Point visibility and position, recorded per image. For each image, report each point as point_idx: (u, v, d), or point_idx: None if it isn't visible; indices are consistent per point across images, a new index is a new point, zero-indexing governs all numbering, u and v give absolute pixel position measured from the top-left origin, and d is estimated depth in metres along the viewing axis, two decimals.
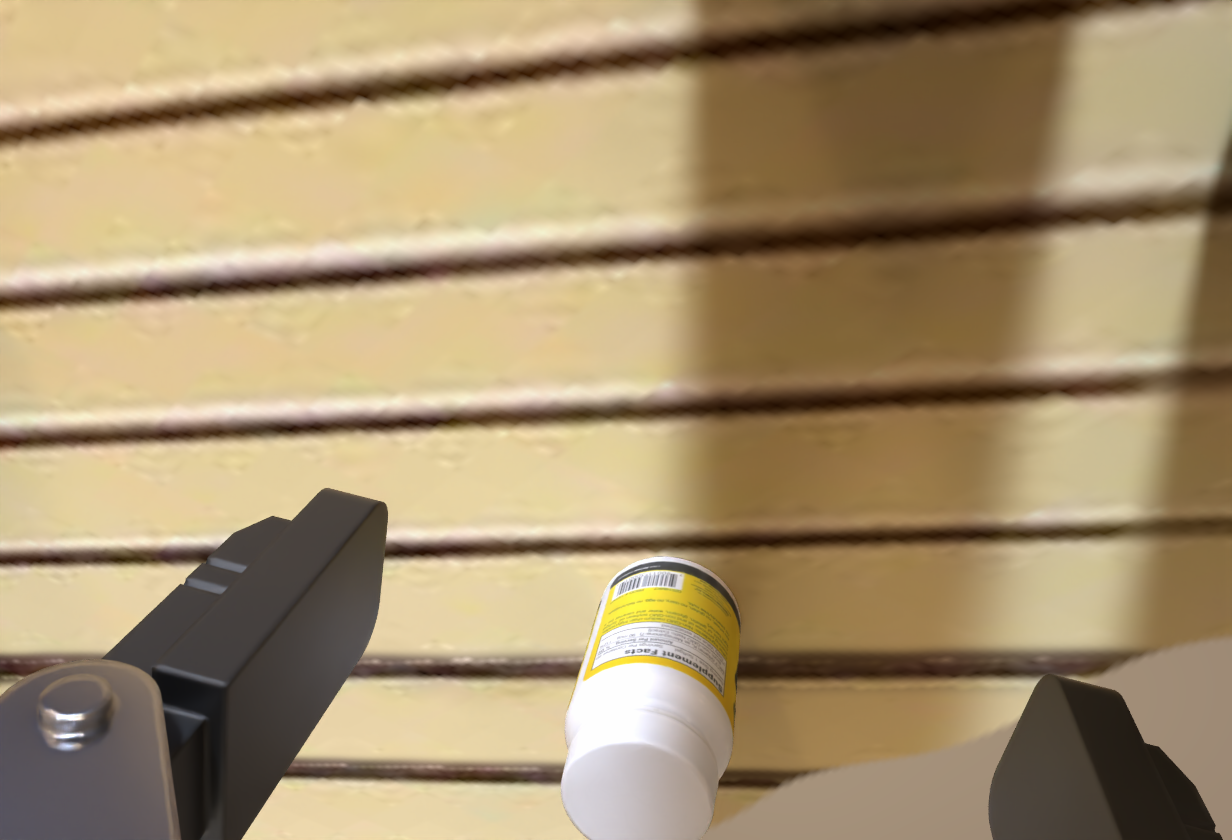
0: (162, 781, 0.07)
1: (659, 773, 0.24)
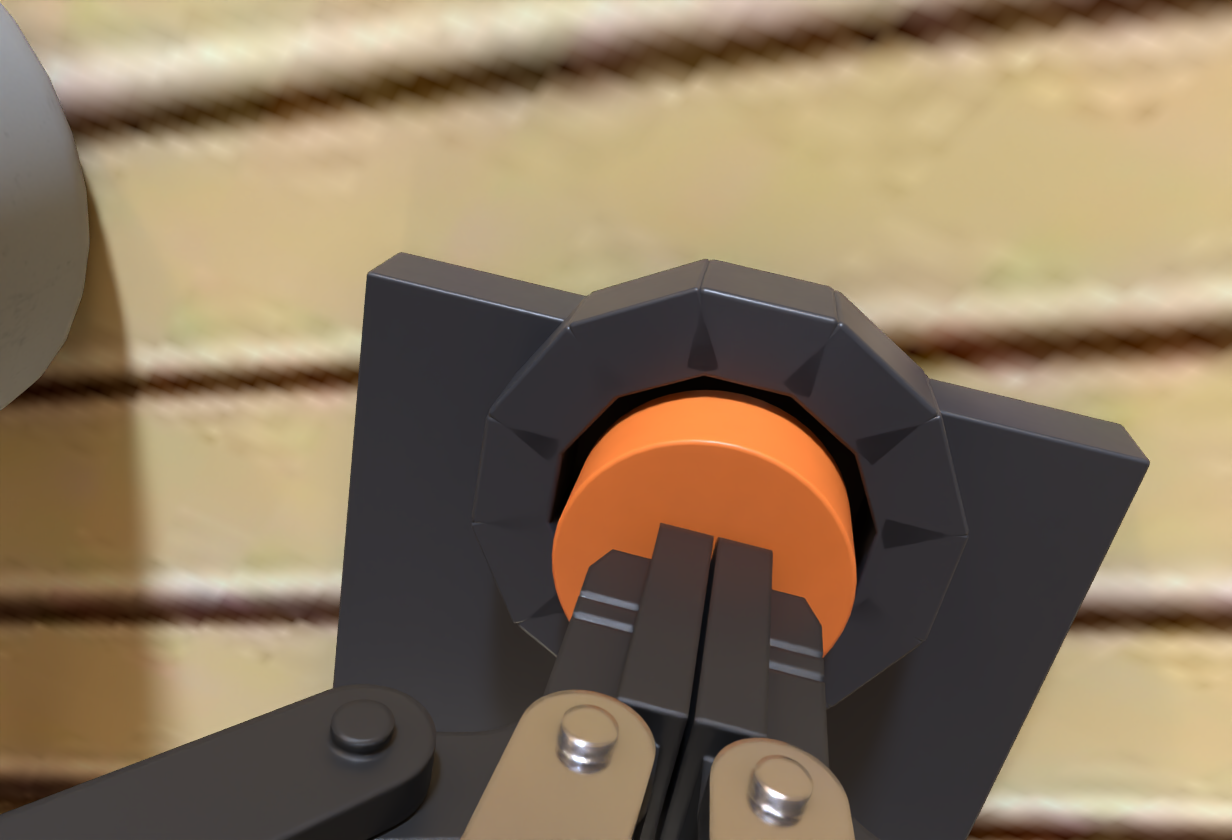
0: None
1: None
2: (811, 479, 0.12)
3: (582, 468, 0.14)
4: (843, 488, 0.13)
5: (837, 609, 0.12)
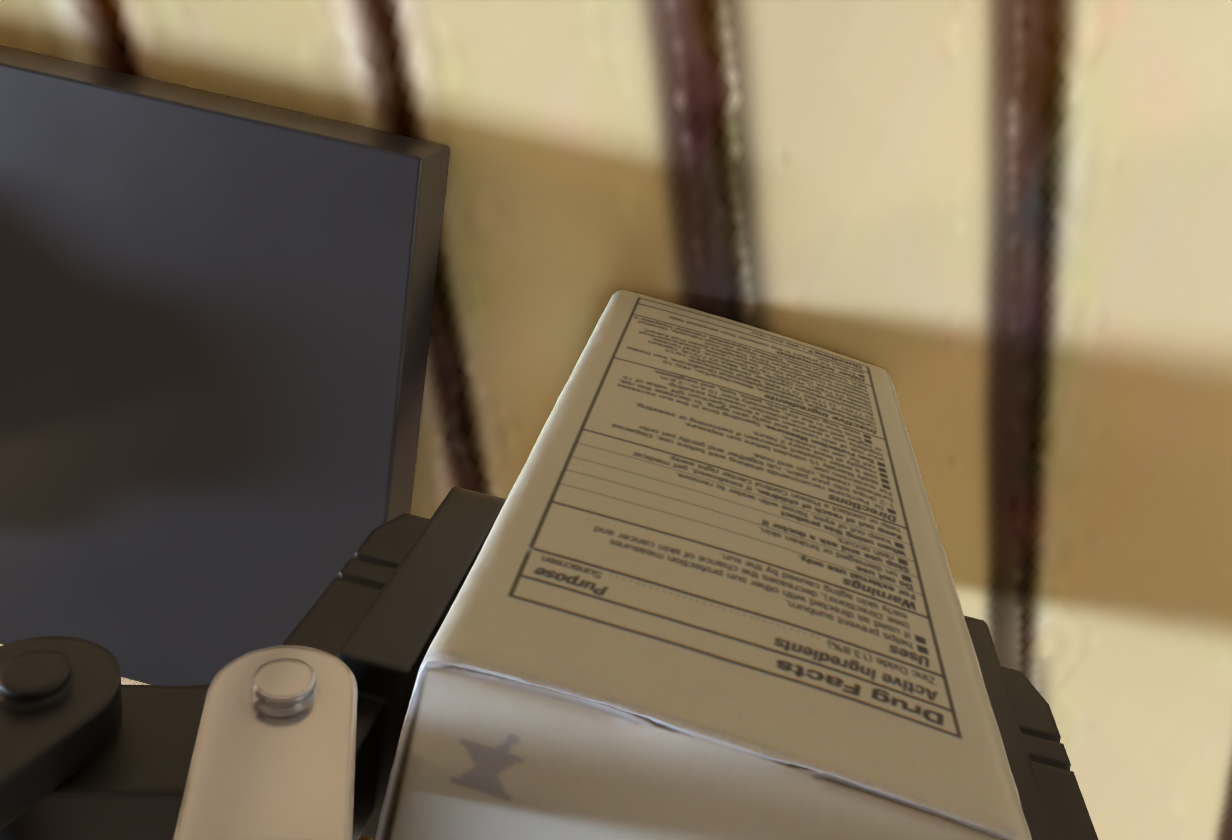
0: (345, 773, 0.07)
1: None
2: None
3: None
4: None
5: None
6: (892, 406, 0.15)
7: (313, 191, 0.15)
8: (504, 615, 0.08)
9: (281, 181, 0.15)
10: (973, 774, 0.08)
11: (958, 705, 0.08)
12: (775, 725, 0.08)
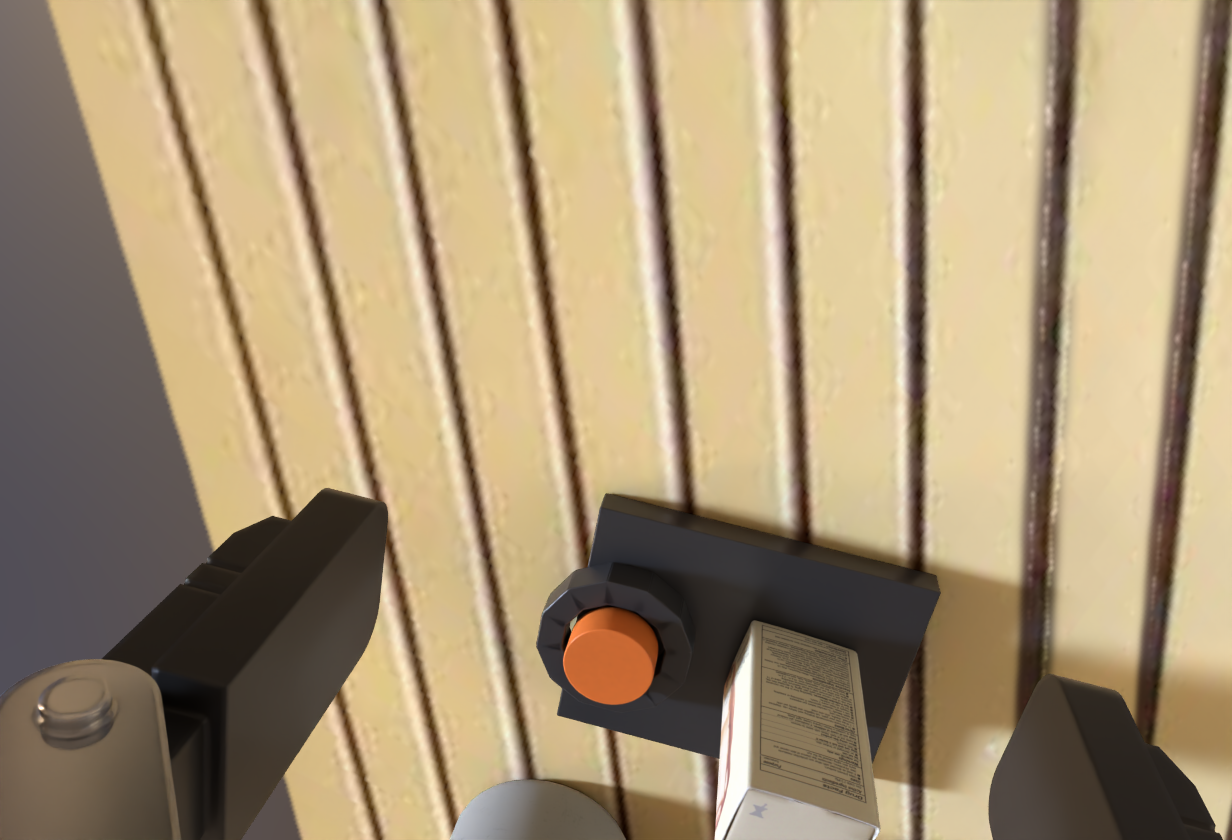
0: (162, 781, 0.07)
1: None
2: (574, 637, 0.41)
3: None
4: (594, 614, 0.42)
5: (613, 634, 0.41)
6: (856, 674, 0.41)
7: (895, 599, 0.41)
8: (760, 775, 0.34)
9: (882, 595, 0.41)
10: (867, 811, 0.34)
11: (866, 794, 0.35)
12: (823, 801, 0.34)
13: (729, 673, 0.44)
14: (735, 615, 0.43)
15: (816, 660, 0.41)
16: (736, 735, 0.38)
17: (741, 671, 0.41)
